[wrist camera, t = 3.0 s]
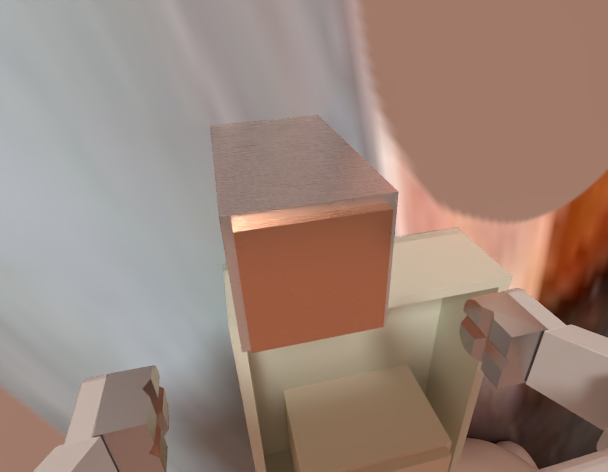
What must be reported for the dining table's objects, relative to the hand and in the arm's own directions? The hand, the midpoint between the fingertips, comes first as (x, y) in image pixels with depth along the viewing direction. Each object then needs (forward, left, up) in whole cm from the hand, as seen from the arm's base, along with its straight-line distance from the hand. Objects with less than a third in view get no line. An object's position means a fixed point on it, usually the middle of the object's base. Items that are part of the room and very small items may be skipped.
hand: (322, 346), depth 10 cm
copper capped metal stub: (0, 0, -11) cm, 11 cm away
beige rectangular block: (-4, +18, -11) cm, 21 cm away
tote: (-4, +14, -11) cm, 18 cm away
